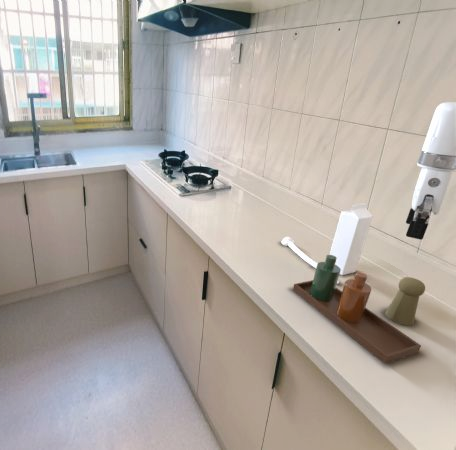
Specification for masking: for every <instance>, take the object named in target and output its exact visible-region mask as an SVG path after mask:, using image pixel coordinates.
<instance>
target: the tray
mask: <svg viewBox="0 0 456 450" xmlns="http://www.w3.org/2000/svg"><path fill="white" fill-rule="evenodd" d="M312 283H313V279H311V280H307V281H303V282H298V283H293V287H292V291H293V292H294V293H295V294H297V296H299V297H300V298H302V299H303V300H304V301H306V302H307V303H308V304H309V305H310V306H312V307H313V308H314V309H315V310H317V311H318V312H319V313H320V314H322V315H323V316H324V317H326V319H328V320H329V321H330V322H332V323H333V324H334V325H335V326H337V327H338V328H339V329H340V330H342V331H343V332H344V333H345V334H347V335H348V336H349V337H351V339H353V340H354V341H355V342H357V343H358V344H359V345H361V346H362V347H363V349H366V350H367V351H368V352H370V353H371V354H372V355H373V356H374V357H375V358H377V360H379V361H380V362H382V363H383V364H384V365H387V364H390V363H393V362H395V361H396V362H397V361H398V360H401V359H404V358H408V357H410V356H413V355H416V354H418V353H419V352H420V350H421V348H422V345H421V344H420V343H418V342H417V341H416V340H414V339H412V338H411V337H409V336H407V334H406V333H403V332H402V331H401V330H399V329H398V328H396V327H395V326H393V325H391V323H389V322H388V321H386V320H385V319H383V318H382V317H381V316H379V315H377V314H376V313H374V312H373V311H371V310H370V309H369V308H367V307H365V310H364V313H363V316H362V319H361V321H360V322H359V323H350V322H347V321H344V320H342V319H341V318H340V317H339V316H337V314H336V310H337V307H338V304H339V301H340V297H341V294H342V291H343V290H341V289H340V288H337V287H336V288H335V291H334V295H333V298H332V300H331V301H328V302H324V301H320V300H317V299H315V298H314V297H312V296H311V294H310V290H311V287H312Z"/></svg>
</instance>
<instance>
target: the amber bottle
mask: <svg viewBox="0 0 456 450" xmlns="http://www.w3.org/2000/svg"><path fill="white" fill-rule="evenodd" d="M367 279H368V275H367V274H366V273H364V272H361V271H358V272H357V271H356V272H355V275H354V278H353V279H352V278H350V279H346V280H345V282H344V285H343V288H342V290H341V291H342V294H341V297H340V301H339V304H338V307H337V310H336V314H337V316H339V317H340V318H341V319H342V320H344V321H347V322H350V323H359V322H360V321H361V319H362V316H363V313H364V310H365V308H367V304H368V301H369V299H370V296H371V294H372V287H371V285H370V284H368V283H366V282H367Z"/></svg>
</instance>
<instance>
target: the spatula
mask: <svg viewBox="0 0 456 450" xmlns="http://www.w3.org/2000/svg"><path fill="white" fill-rule="evenodd" d="M281 245H283V246H284V247H289V248H290V249H291V250H292V251H293V252H294V253H295V254H296V255H298V257H299V258H301V259H302V260H303V261H304V262H306V263H307V264H308V265H310V266H311V267H313V268H314V269H316V267H317V264H318V263H319V262H317V261H315V260H313V259H312V258H310V257H309V256H308V255H307V254H306V253H305V252H303V251H302V250H301V249H300V248H299V247H297V246H296V244H295V243H294V239H293V238H292V237H290V236H286V237H283V239H282V240H281ZM339 283H340V280H338V281H337V284H339ZM337 284H336V285H337Z"/></svg>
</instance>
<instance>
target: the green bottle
mask: <svg viewBox="0 0 456 450" xmlns="http://www.w3.org/2000/svg"><path fill="white" fill-rule="evenodd" d="M336 259H337V258H336V257H335V256H333V255H330V254H326V257H325V260H324V261H319V262H317V263H318V264H317V267H316V268H315V271H314V276H313V279H312V280H313V283H312V287H311V290H310V294H311V296H312V297H314V298H315V299H317V300H320V301H324V302H328V301H331V300H332V298H333V295H334V291H335V288H337V281H339V278H340V271H341V269H340V268H339V267H338V266H337V265H335V263H336Z"/></svg>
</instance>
